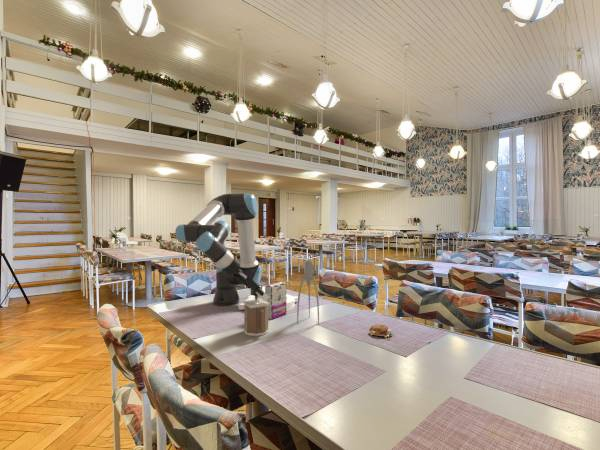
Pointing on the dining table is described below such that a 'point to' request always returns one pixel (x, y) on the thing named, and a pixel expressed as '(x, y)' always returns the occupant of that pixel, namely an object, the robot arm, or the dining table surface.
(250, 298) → the white circle with bar
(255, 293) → the dark knobbed rod
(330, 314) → the dining table surface
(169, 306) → the dining table surface
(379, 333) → the hamburger
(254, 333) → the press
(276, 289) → the candy bar box
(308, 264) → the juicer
